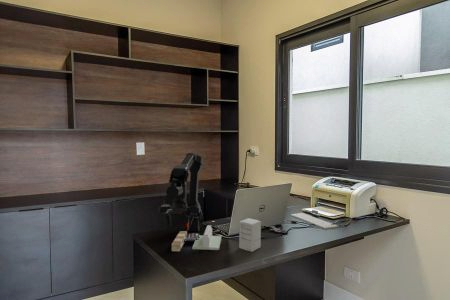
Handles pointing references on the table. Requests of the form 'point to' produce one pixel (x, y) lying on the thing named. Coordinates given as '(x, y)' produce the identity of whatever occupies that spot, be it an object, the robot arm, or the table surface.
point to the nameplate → (277, 230)
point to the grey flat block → (314, 221)
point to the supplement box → (250, 234)
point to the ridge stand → (207, 241)
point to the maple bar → (179, 241)
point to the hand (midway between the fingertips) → (180, 227)
